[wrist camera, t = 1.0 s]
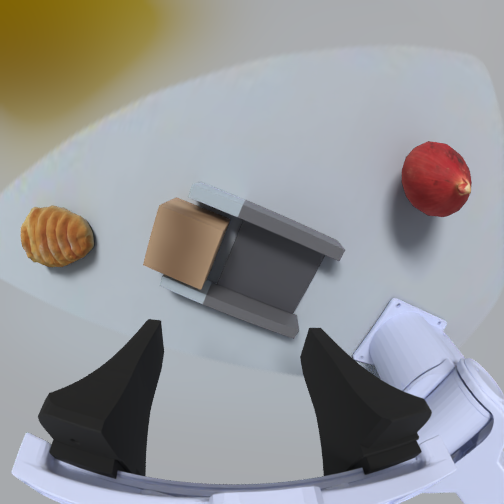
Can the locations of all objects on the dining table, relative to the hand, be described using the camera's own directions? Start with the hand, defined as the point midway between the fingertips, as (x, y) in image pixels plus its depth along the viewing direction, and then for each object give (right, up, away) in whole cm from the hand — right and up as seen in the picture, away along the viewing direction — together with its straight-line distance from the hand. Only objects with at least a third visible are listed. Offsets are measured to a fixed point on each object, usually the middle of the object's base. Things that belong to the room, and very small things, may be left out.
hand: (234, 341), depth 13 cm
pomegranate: (+15, +11, +8) cm, 20 cm away
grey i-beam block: (+1, +4, +11) cm, 12 cm away
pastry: (-20, +7, +12) cm, 24 cm away
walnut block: (-4, +6, +11) cm, 13 cm away
